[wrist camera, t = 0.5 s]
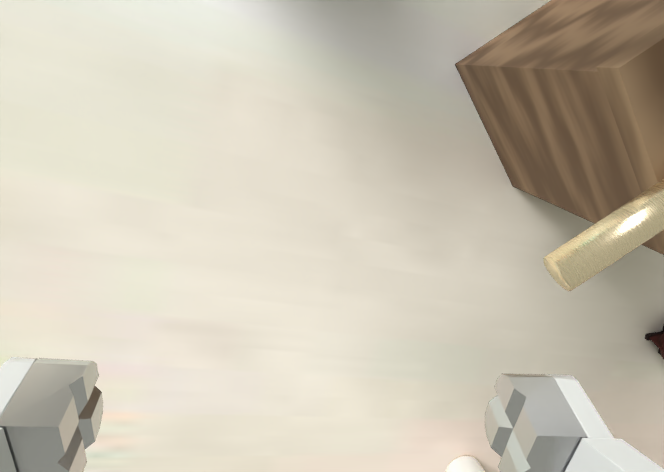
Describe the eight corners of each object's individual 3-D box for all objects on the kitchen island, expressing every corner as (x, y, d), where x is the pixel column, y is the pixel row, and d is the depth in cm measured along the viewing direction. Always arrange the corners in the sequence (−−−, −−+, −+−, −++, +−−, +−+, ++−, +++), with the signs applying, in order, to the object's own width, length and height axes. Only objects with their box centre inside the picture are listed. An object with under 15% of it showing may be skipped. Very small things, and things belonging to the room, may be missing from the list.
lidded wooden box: (508, 197, 62) (694, 290, 38) (442, 61, 55) (618, 67, 31) (637, 113, 61) (906, 152, 37) (587, -35, 55) (877, -104, 31)
